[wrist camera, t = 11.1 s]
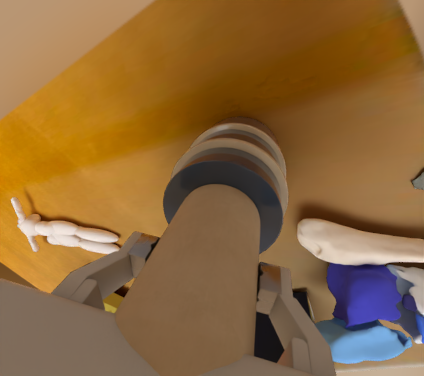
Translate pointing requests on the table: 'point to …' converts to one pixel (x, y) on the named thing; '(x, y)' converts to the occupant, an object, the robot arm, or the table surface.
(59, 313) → the robot arm
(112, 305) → the flat olive board
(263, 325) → the decorative box
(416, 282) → the blue white plush toy
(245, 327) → the candle
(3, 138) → the table surface
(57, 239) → the decorative figure
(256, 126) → the cup stack
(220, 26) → the table surface
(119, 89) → the table surface
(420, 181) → the rock
